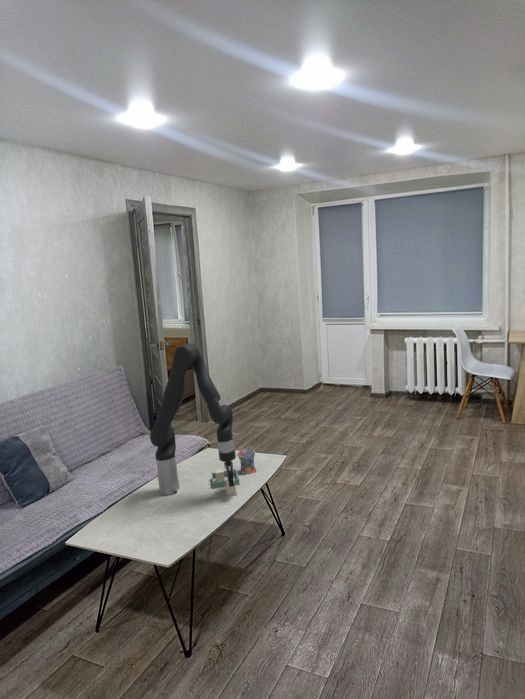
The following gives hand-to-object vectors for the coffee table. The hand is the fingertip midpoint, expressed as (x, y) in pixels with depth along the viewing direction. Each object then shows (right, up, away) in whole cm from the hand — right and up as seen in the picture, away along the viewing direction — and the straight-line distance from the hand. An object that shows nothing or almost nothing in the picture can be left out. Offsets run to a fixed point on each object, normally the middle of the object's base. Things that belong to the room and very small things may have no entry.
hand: (230, 482), depth 233 cm
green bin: (-4, -4, +15) cm, 16 cm away
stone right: (0, -5, +1) cm, 5 cm away
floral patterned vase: (+8, -2, +27) cm, 28 cm away
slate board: (-2, -6, +1) cm, 7 cm away
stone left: (-6, -4, +15) cm, 16 cm away
